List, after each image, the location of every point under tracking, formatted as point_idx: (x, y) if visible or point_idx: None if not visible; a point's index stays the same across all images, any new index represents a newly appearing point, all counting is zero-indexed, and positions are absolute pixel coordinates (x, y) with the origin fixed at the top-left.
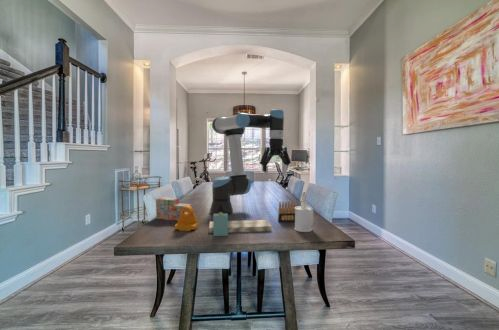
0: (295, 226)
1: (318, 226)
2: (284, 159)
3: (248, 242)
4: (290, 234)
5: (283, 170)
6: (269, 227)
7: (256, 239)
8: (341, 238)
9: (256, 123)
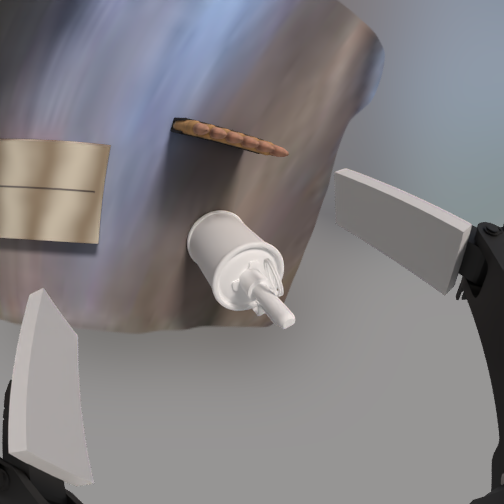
0: (192, 245)
1: (279, 219)
2: (491, 360)
3: (22, 318)
4: (153, 277)
5: (386, 211)
6: (91, 241)
7: None
8: (266, 314)
9: None
